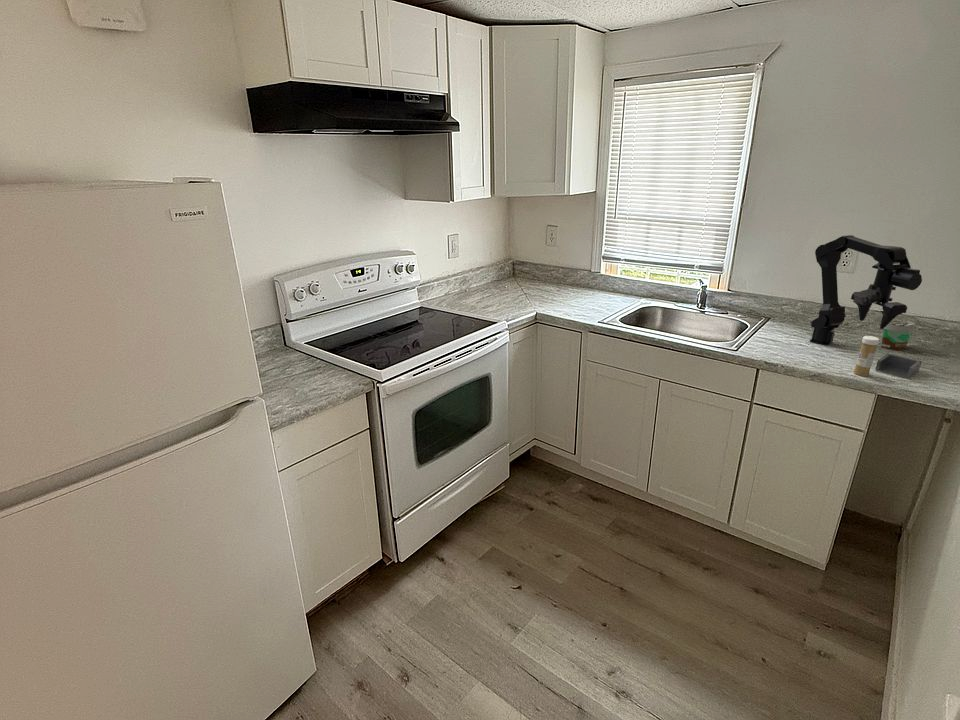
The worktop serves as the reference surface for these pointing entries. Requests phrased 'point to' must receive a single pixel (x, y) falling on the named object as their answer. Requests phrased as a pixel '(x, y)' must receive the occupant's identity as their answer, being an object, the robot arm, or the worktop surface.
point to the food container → (897, 335)
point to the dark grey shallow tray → (898, 366)
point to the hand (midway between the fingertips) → (871, 324)
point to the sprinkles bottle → (866, 355)
